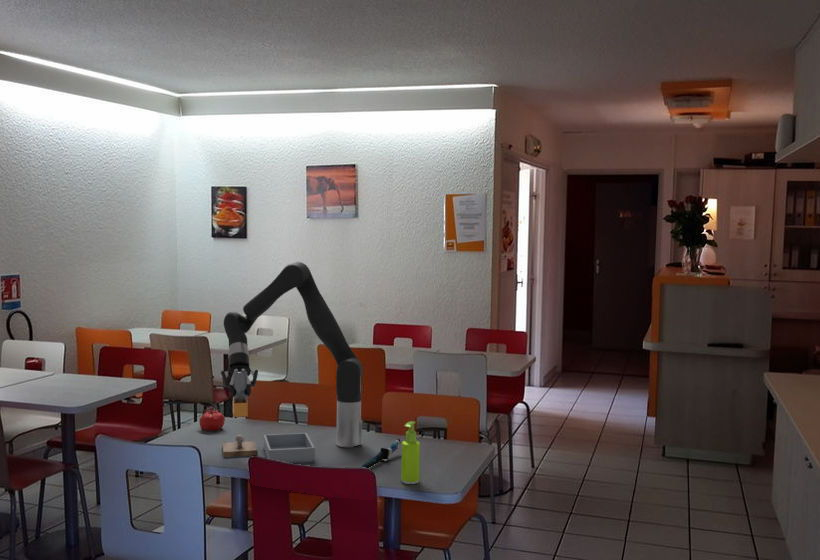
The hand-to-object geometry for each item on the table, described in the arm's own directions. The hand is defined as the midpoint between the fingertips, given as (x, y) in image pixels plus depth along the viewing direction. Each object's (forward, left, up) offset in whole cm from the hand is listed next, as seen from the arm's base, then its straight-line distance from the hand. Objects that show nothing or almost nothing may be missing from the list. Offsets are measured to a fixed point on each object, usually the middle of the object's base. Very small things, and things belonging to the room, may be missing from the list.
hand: (240, 395), depth 280 cm
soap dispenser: (-52, +44, -22) cm, 72 cm away
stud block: (0, -2, -21) cm, 22 cm away
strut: (0, -2, -8) cm, 8 cm away
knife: (-47, +22, -22) cm, 56 cm away
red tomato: (+9, -37, -22) cm, 44 cm away
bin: (-17, +5, -21) cm, 28 cm away
